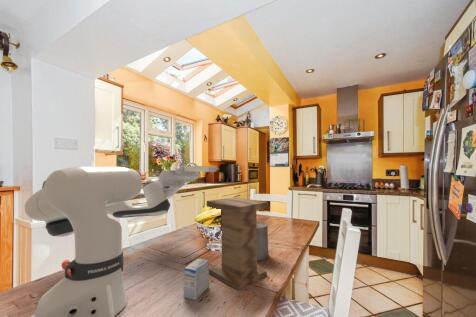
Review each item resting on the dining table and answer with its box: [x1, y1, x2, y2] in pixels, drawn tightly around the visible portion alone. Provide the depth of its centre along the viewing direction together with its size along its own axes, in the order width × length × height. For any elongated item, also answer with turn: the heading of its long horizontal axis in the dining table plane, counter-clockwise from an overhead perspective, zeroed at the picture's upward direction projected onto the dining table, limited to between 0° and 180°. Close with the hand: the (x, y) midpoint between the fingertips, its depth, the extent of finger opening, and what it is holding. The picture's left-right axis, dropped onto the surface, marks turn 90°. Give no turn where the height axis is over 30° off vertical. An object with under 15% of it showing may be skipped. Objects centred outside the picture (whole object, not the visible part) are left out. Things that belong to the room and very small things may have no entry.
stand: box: [206, 197, 269, 291], centre depth 81 cm, size 14×18×26 cm
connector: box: [181, 165, 219, 173], centre depth 101 cm, size 4×26×2 cm, turn 43°
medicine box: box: [183, 258, 210, 301], centre depth 69 cm, size 8×4×9 cm, turn 159°
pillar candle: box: [257, 221, 269, 261], centre depth 97 cm, size 10×10×15 cm
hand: (187, 167), depth 108 cm, fingers closed on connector, 4 cm apart
